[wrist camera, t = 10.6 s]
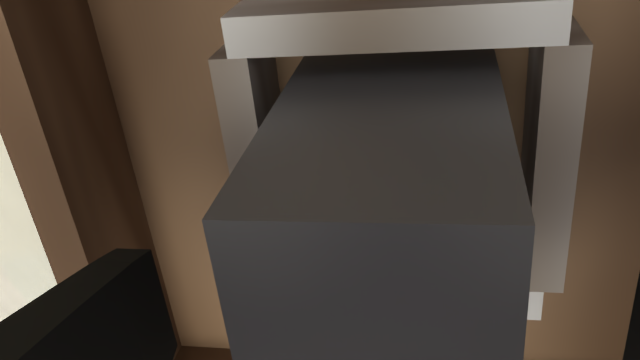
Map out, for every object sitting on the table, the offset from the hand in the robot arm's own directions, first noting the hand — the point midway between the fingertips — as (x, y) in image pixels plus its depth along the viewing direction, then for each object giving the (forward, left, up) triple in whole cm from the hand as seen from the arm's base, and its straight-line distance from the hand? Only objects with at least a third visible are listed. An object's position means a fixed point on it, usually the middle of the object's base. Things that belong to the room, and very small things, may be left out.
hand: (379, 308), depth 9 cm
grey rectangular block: (0, 0, -6) cm, 6 cm away
